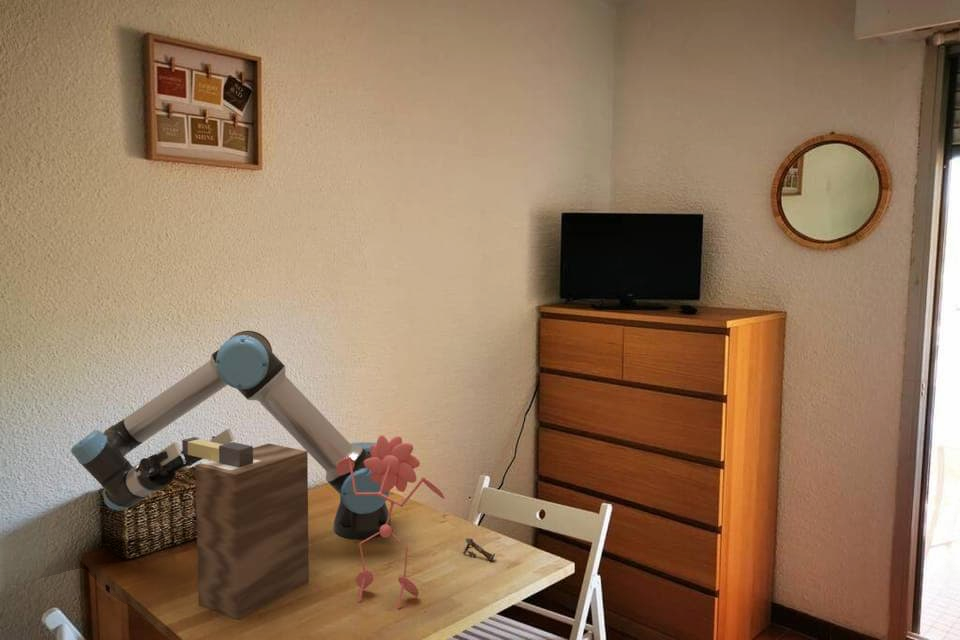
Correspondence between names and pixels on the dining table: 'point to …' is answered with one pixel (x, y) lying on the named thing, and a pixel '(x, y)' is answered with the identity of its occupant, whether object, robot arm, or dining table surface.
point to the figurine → (391, 470)
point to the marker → (219, 451)
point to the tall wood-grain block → (252, 530)
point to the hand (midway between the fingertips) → (205, 440)
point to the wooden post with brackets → (477, 548)
